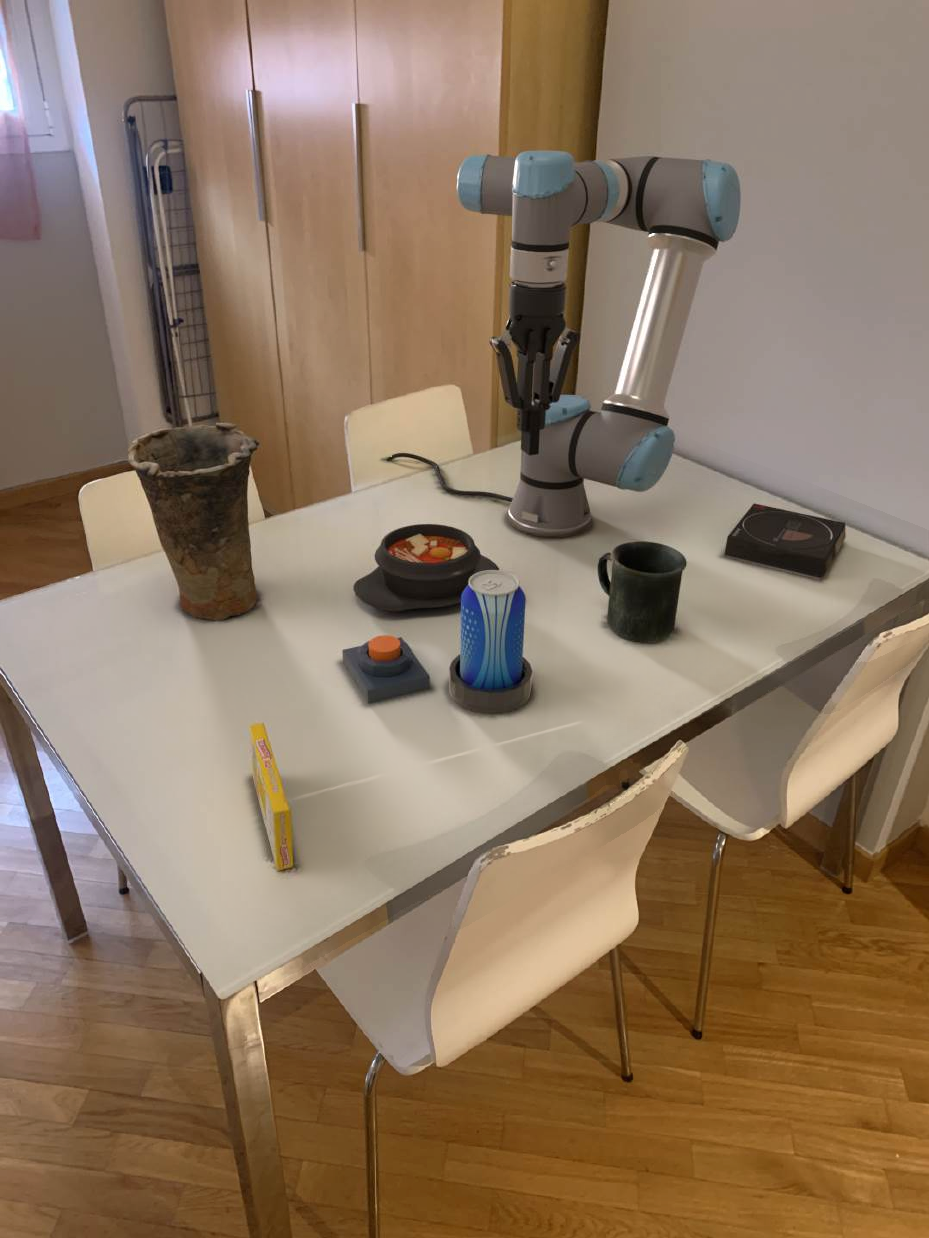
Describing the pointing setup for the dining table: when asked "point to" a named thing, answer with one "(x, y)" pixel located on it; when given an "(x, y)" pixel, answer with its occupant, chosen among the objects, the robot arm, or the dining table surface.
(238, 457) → the vase
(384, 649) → the button
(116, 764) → the dining table surface
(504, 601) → the beer can
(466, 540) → the casserole
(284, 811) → the candy box
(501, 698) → the dock
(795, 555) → the portable cd player
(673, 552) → the mug
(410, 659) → the button base
